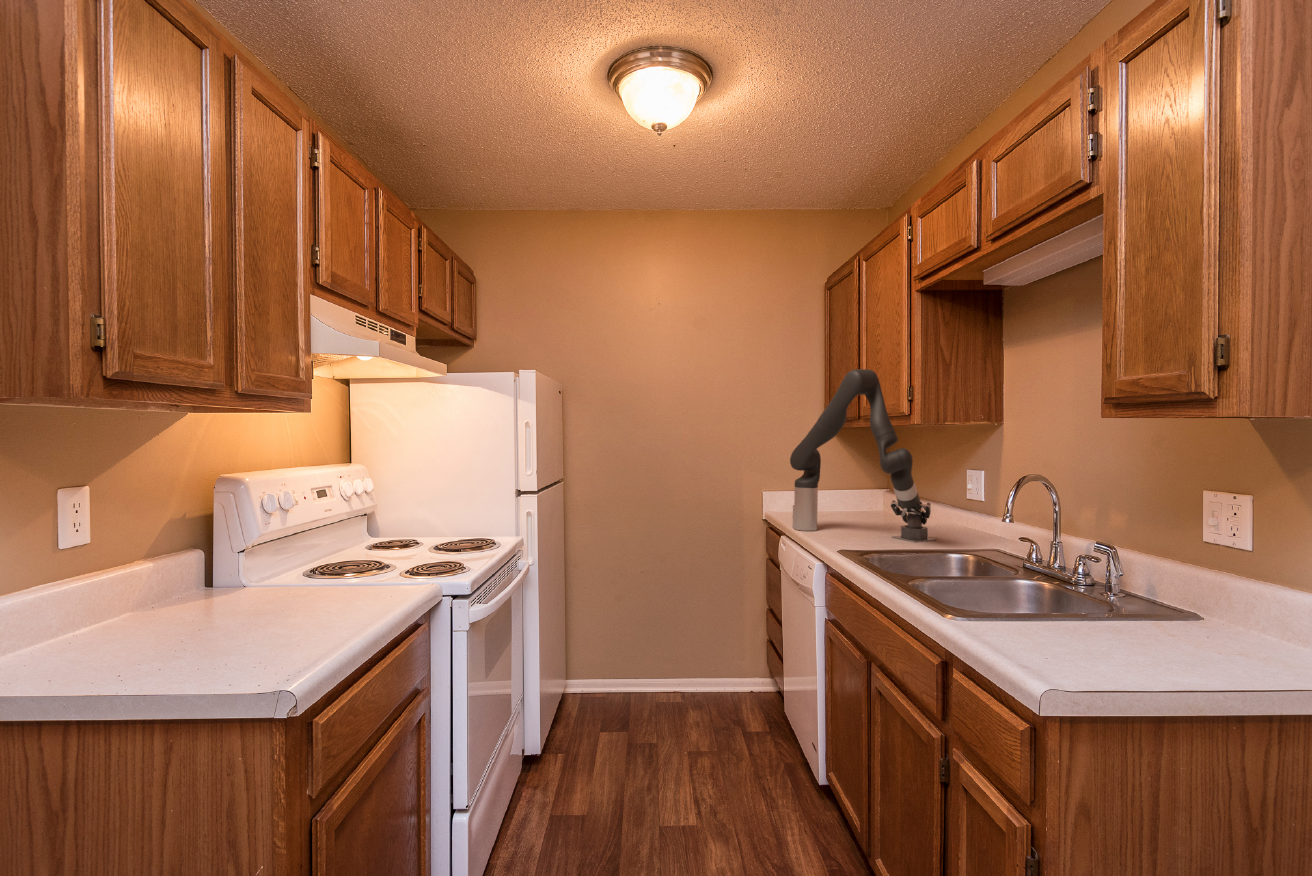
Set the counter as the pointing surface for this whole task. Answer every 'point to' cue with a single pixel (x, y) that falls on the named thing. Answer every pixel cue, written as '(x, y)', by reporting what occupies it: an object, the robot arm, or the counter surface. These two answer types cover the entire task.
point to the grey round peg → (914, 521)
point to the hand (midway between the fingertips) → (915, 521)
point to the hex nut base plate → (914, 534)
